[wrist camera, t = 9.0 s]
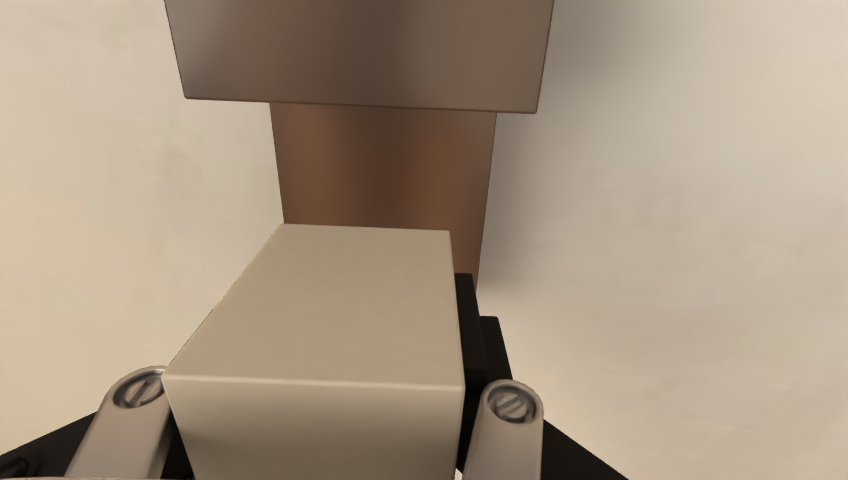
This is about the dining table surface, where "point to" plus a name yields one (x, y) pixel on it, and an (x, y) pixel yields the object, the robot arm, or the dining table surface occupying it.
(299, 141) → the step shelf
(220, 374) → the block
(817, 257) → the dining table surface
